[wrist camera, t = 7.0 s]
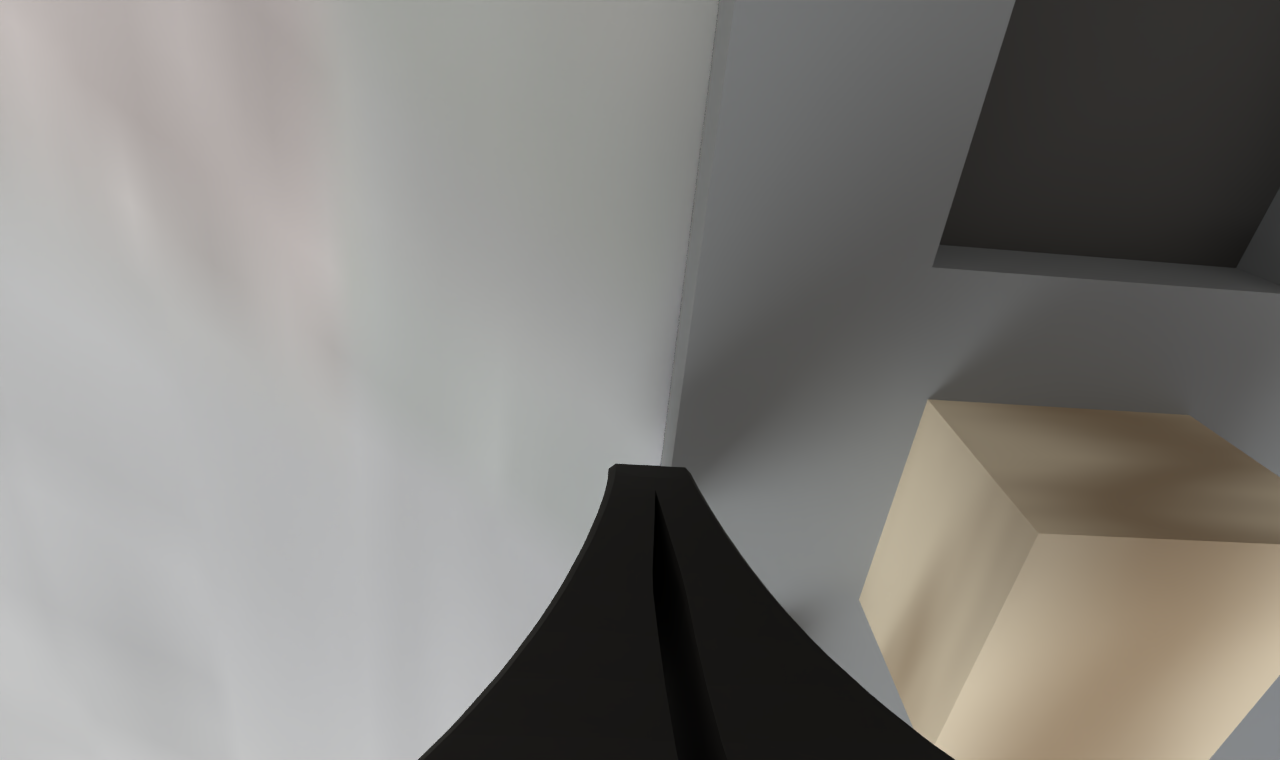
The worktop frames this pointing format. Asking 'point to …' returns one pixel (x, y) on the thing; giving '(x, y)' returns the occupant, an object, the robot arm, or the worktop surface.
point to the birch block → (1077, 584)
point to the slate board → (966, 258)
